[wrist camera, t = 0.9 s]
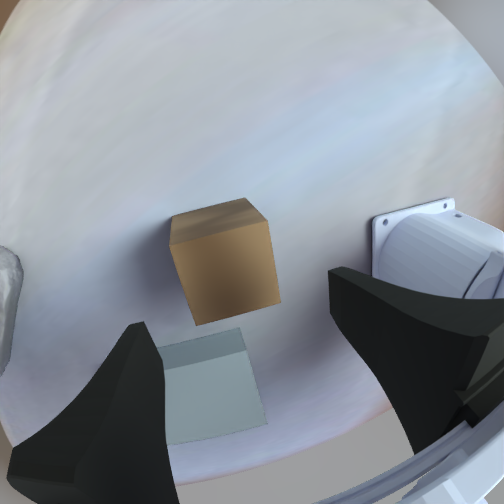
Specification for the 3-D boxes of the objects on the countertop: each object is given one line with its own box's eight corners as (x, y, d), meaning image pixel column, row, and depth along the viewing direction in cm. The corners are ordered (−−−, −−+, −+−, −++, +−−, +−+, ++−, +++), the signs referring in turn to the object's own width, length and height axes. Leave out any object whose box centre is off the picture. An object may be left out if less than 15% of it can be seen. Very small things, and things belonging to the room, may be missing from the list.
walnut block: (245, 197, 18) (267, 220, 13) (257, 262, 20) (280, 302, 15) (172, 215, 17) (169, 246, 13) (191, 280, 19) (196, 326, 14)
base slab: (238, 324, 22) (246, 350, 19) (259, 400, 26) (267, 423, 23) (116, 353, 20) (111, 380, 18) (162, 422, 24) (163, 446, 22)
